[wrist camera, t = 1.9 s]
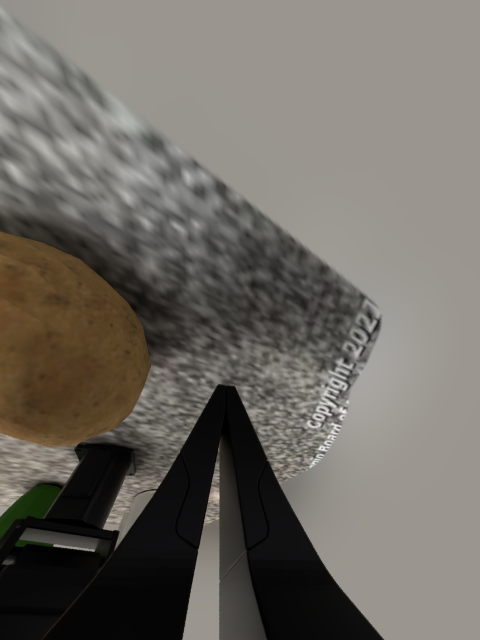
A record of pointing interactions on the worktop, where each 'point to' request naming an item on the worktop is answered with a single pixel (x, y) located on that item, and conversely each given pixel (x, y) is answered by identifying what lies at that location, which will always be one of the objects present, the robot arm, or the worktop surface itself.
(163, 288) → the worktop surface
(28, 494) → the bell pepper
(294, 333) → the worktop surface
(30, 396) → the potato
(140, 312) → the worktop surface
